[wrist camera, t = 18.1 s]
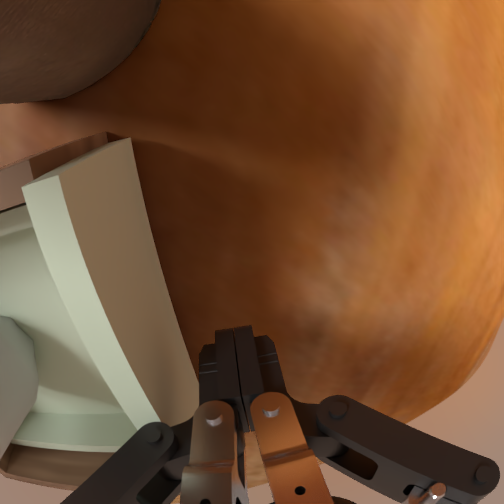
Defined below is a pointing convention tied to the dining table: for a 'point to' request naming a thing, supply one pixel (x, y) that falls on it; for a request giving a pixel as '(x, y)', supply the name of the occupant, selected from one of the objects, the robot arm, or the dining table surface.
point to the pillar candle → (65, 44)
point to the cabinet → (26, 457)
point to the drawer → (93, 306)
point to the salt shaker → (15, 379)
